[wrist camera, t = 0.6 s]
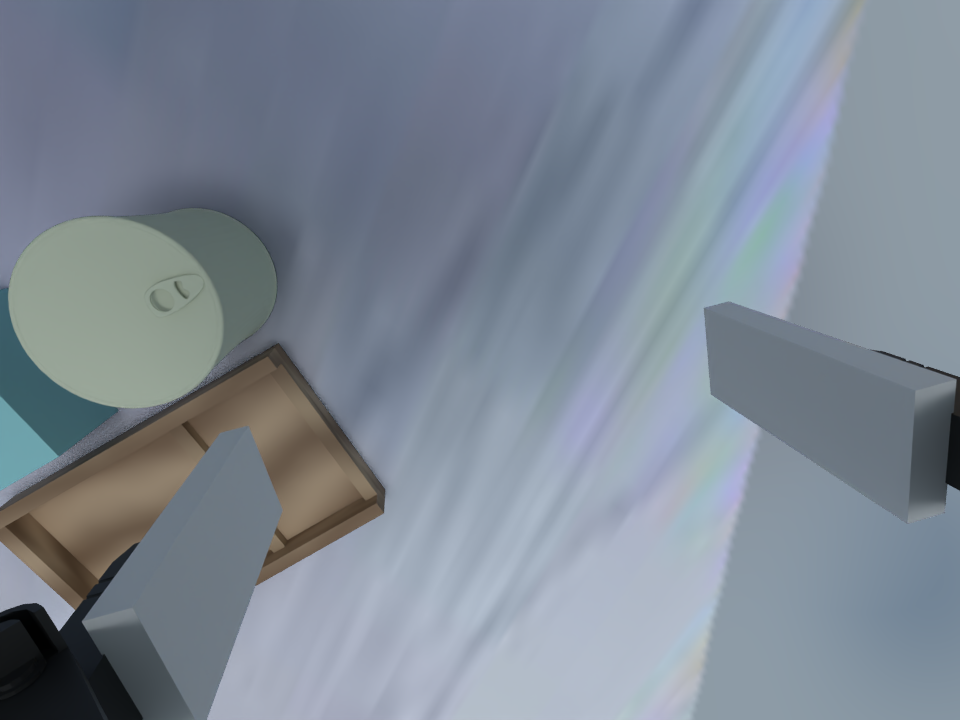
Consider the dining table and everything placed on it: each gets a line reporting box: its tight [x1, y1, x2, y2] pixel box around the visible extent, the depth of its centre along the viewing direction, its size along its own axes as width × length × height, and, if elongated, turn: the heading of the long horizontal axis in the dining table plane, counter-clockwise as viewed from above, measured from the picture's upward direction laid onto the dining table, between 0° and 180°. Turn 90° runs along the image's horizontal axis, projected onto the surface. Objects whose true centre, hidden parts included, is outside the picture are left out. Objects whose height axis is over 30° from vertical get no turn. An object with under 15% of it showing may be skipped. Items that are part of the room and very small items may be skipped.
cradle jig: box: [0, 343, 385, 610], centre depth 38 cm, size 14×22×3 cm, turn 119°
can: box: [8, 208, 277, 408], centre depth 30 cm, size 9×9×12 cm
